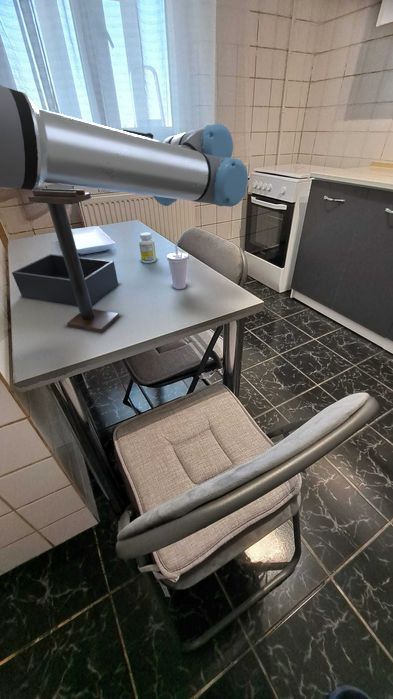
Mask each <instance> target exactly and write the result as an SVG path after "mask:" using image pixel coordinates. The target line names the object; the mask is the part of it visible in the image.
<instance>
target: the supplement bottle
mask: <svg viewBox="0 0 393 699" xmlns="http://www.w3.org/2000/svg"><path fill="white" fill-rule="evenodd" d="M139 238H140V240H139V241H138V243H139V244H138V245H139V252H140V260H141V262H142V263H145V264H151V263H154V262H156V261H157V256H156V246H155V240H154V239H153V235H152V232H148V231H147V232H146V231H145V232H141V233H140V234H139Z"/></svg>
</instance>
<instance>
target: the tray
mask: <svg viewBox="0 0 393 699" xmlns="http://www.w3.org/2000/svg"><path fill="white" fill-rule="evenodd" d="M71 230H72V233H73V237H74V241H75V245H76V248H77V252H78V254H80V255H83V256H84V255H87V254H95V253H99V252H100V253H101V252H106V251H108V250H109V249H110V248H112V247H114V246H115V245H116V241H114V240H113V239H112V238H111V237H110V236H109V235H108V234H106V232H105V231H104V230H102V229H101V228H100V226H99V225H95V226H94V225H93V226H87V227H79V228H71Z"/></svg>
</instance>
